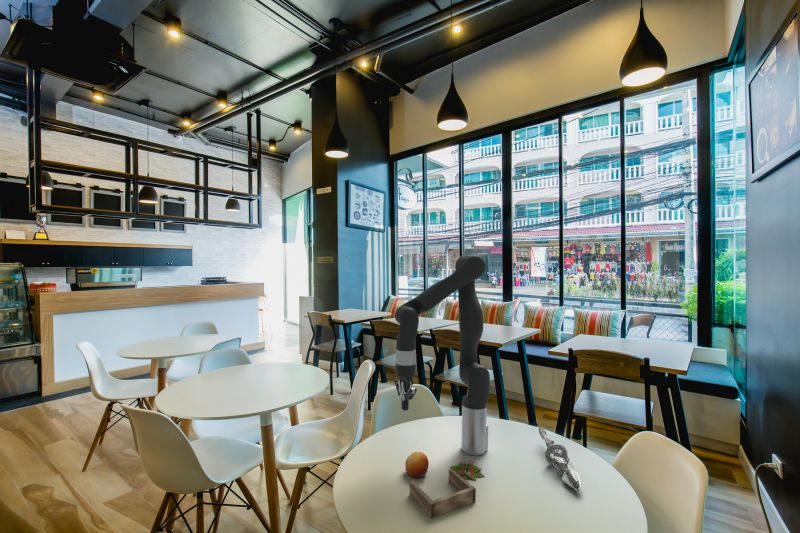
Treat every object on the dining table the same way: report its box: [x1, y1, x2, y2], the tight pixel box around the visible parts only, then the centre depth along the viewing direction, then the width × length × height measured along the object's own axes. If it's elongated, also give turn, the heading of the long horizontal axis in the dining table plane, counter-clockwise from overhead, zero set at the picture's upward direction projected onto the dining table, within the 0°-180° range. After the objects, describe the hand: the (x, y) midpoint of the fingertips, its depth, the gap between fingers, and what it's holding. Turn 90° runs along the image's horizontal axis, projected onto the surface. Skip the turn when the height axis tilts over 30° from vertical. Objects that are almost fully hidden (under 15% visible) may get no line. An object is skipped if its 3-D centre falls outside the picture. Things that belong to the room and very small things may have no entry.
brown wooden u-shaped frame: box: [409, 468, 477, 519], centre depth 113 cm, size 16×12×4 cm
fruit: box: [404, 451, 430, 479], centre depth 126 cm, size 8×8×8 cm
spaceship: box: [538, 426, 582, 492], centre depth 133 cm, size 8×35×8 cm
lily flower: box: [449, 458, 486, 482], centre depth 127 cm, size 12×12×5 cm
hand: (404, 409), depth 134 cm, fingers closed
